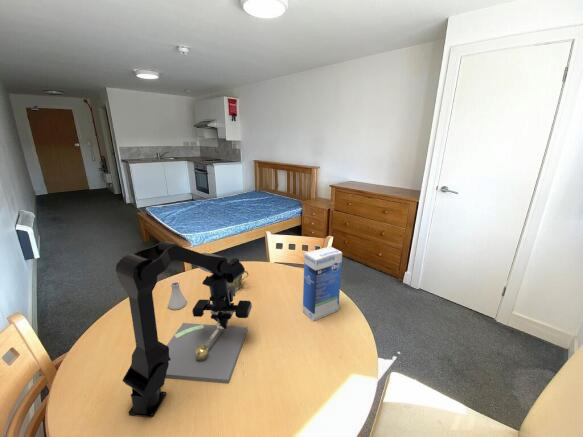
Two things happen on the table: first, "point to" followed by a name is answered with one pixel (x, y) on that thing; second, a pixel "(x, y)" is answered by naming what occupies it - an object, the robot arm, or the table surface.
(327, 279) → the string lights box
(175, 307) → the flask
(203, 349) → the lever
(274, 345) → the table surface
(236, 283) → the ceramic cup
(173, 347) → the dial board
